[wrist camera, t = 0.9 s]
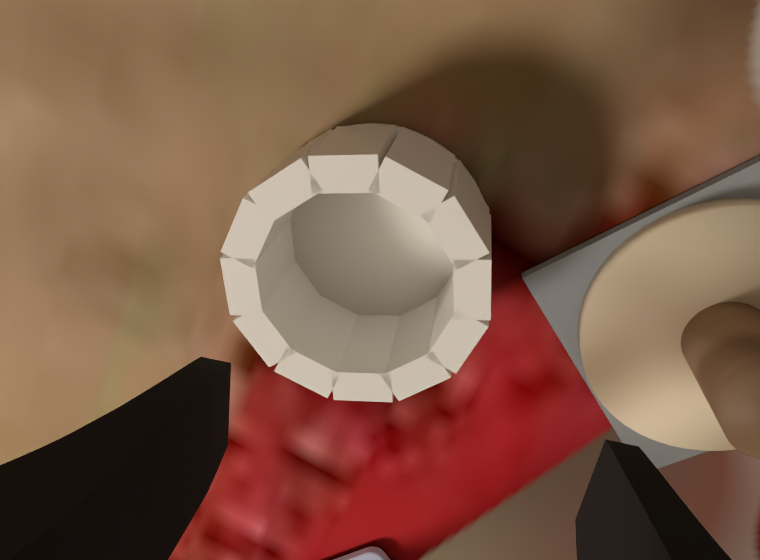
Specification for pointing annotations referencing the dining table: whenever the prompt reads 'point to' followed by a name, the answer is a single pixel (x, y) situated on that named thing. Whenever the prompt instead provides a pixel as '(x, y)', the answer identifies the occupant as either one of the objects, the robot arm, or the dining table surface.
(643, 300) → the lid
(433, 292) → the bowl
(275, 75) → the dining table surface
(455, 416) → the dining table surface
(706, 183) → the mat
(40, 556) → the robot arm
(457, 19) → the dining table surface
